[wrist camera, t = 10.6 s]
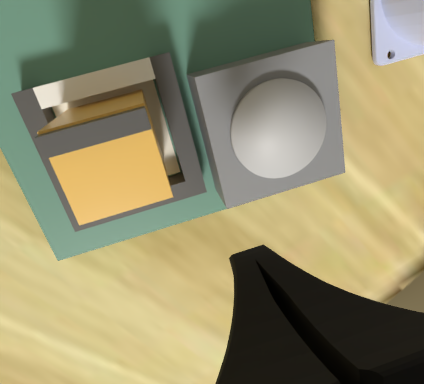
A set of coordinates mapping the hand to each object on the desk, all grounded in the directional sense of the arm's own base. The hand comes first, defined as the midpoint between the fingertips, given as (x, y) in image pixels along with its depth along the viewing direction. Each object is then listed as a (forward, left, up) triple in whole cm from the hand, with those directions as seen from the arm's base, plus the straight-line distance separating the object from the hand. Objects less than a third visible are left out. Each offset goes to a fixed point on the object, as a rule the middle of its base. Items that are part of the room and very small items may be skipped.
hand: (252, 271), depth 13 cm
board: (+1, -6, -10) cm, 12 cm away
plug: (+4, -4, -9) cm, 11 cm away
